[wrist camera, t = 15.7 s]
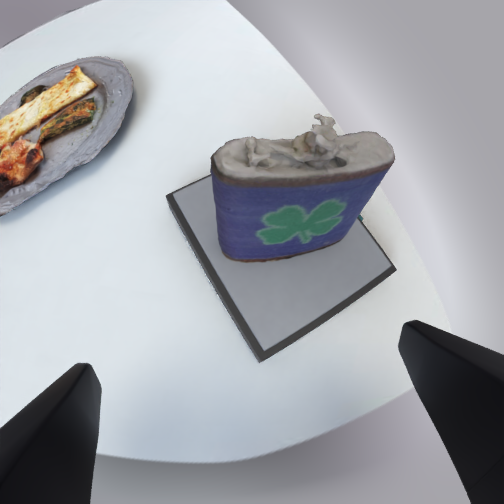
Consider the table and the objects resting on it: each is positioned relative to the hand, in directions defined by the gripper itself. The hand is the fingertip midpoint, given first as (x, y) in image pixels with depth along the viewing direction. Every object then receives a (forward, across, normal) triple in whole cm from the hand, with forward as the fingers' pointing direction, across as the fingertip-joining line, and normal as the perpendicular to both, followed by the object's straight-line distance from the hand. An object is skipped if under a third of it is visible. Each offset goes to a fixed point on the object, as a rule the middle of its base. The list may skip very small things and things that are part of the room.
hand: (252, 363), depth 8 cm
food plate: (+28, +21, -10) cm, 37 cm away
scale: (+16, -4, +3) cm, 16 cm away
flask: (+14, -4, +2) cm, 14 cm away
